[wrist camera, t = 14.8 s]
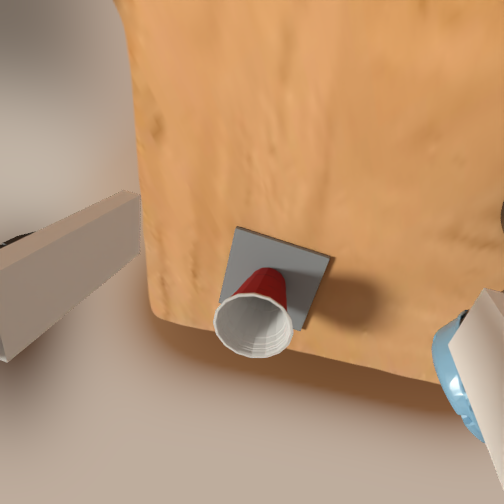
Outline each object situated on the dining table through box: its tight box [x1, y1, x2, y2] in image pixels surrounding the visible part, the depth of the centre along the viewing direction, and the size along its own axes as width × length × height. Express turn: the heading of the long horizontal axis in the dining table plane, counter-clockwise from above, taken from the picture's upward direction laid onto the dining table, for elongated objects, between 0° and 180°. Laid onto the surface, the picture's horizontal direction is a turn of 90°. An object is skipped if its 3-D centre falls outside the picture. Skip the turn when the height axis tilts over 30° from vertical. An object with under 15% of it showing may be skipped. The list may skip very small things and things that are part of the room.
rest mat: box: [219, 226, 330, 331], centre depth 55 cm, size 15×15×1 cm
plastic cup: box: [213, 267, 293, 358], centre depth 49 cm, size 11×11×12 cm
